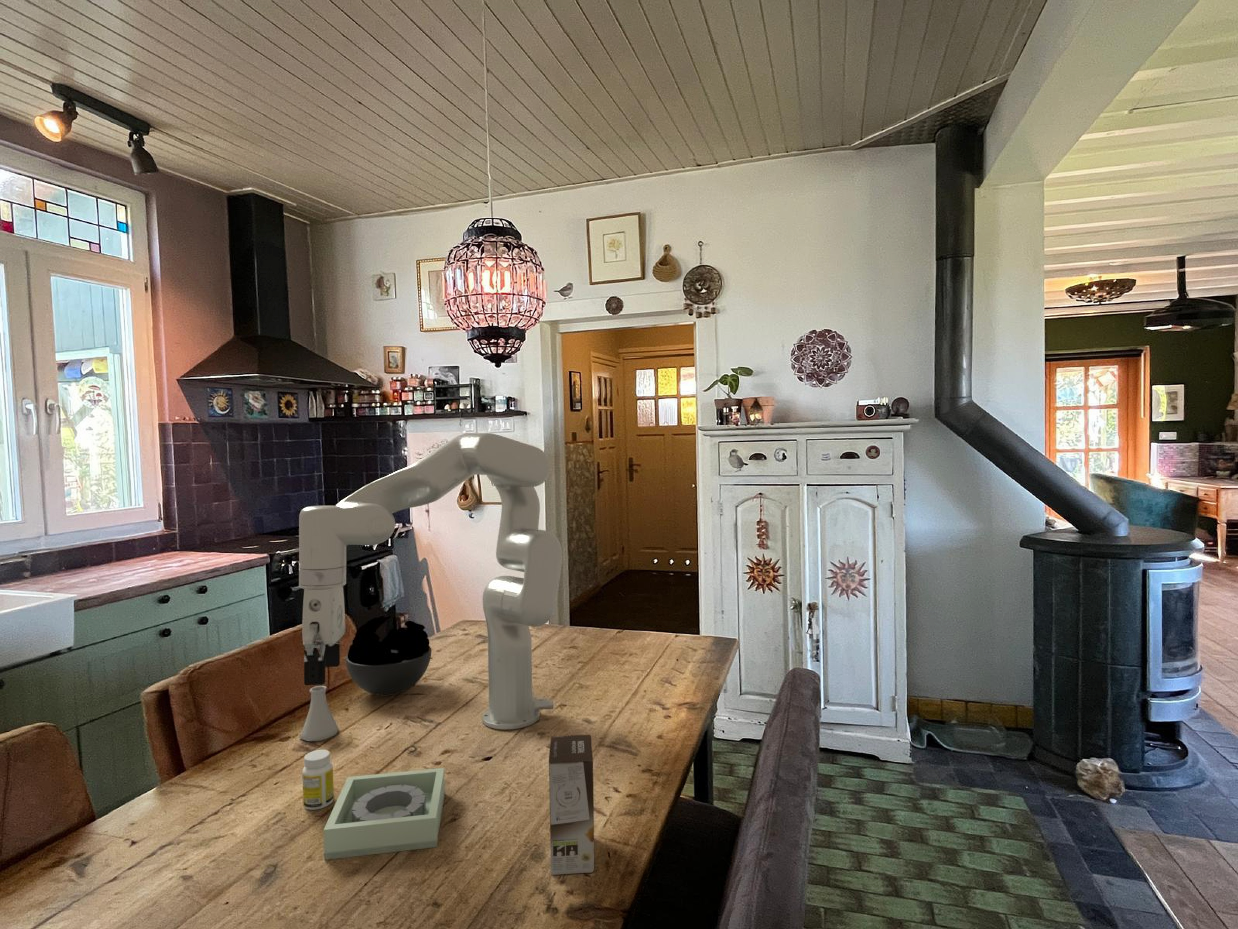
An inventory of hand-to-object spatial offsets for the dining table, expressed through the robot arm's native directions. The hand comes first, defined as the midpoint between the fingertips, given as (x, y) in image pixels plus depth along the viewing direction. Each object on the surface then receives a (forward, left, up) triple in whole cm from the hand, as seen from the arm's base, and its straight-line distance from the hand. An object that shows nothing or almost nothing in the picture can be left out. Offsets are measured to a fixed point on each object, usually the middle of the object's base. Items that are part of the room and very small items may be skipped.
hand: (322, 675), depth 117 cm
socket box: (-13, +12, -21) cm, 27 cm away
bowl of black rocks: (-4, -48, -21) cm, 53 cm away
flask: (+7, -26, -21) cm, 35 cm away
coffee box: (-41, +26, -21) cm, 53 cm away
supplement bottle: (0, +3, -21) cm, 22 cm away
